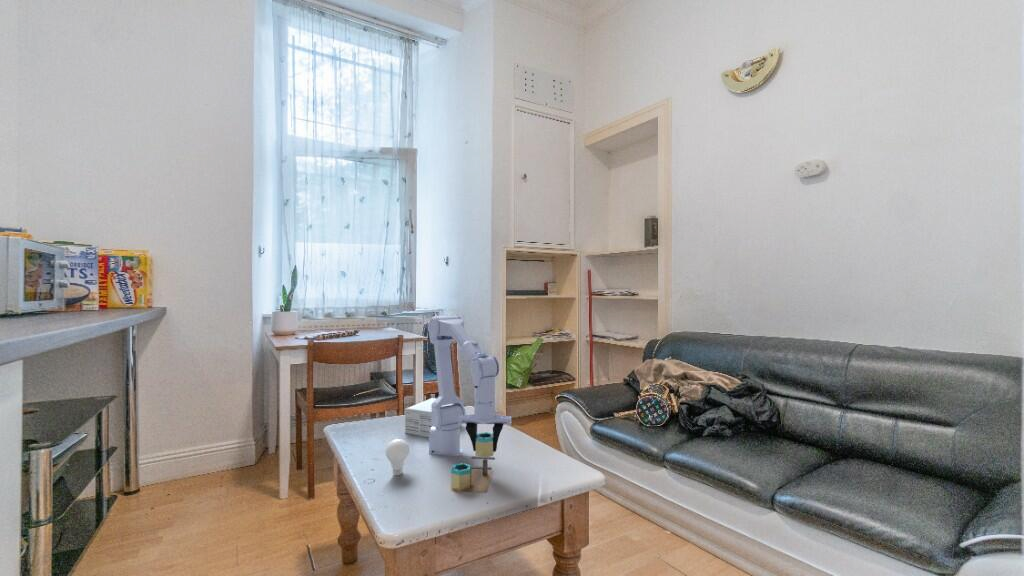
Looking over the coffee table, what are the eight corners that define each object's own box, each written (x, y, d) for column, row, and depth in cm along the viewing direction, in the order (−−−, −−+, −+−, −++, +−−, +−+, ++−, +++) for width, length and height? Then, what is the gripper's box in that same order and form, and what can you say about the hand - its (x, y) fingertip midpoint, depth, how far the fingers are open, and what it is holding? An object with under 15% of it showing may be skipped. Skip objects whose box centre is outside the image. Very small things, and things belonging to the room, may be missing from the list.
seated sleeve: (449, 490, 111) (449, 471, 111) (454, 481, 117) (454, 462, 117) (468, 491, 111) (468, 472, 111) (472, 481, 116) (472, 463, 116)
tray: (466, 473, 125) (466, 467, 125) (471, 462, 133) (471, 456, 133) (490, 474, 125) (490, 467, 124) (494, 462, 132) (494, 456, 132)
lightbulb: (397, 485, 118) (396, 445, 118) (380, 480, 121) (380, 440, 121) (414, 476, 123) (413, 437, 123) (398, 471, 126) (397, 433, 126)
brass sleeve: (474, 457, 118) (474, 438, 118) (478, 449, 124) (478, 432, 124) (492, 457, 118) (492, 439, 118) (495, 450, 123) (495, 432, 123)
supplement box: (434, 438, 154) (434, 412, 154) (404, 433, 159) (404, 408, 159) (459, 424, 169) (459, 400, 169) (431, 420, 175) (431, 397, 175)
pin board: (451, 496, 111) (451, 475, 111) (462, 474, 124) (462, 455, 124) (486, 498, 110) (486, 476, 110) (493, 475, 123) (493, 456, 123)
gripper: (455, 404, 117) (456, 454, 117) (509, 405, 116) (509, 456, 116) (461, 397, 124) (461, 445, 124) (512, 398, 123) (512, 446, 123)
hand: (485, 450), depth 121 cm, fingers closed on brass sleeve, 5 cm apart
